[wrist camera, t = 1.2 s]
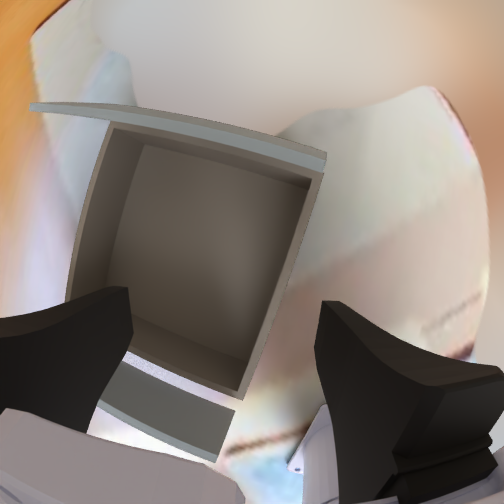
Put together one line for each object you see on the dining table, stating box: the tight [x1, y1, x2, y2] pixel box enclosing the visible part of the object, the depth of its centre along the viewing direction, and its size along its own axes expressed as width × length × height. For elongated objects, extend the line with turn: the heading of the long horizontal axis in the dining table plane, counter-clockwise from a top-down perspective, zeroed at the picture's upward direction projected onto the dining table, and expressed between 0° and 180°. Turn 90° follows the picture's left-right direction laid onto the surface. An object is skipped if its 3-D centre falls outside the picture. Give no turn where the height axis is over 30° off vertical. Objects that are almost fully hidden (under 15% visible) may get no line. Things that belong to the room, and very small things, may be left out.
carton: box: [65, 121, 324, 401], centre depth 20 cm, size 14×14×5 cm
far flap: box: [97, 361, 235, 463], centre depth 14 cm, size 14×7×1 cm
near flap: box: [29, 102, 327, 173], centre depth 13 cm, size 14×7×1 cm
